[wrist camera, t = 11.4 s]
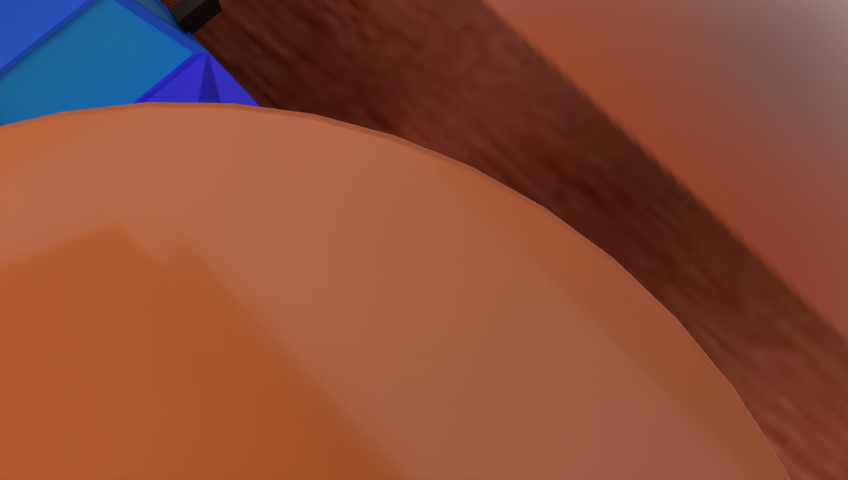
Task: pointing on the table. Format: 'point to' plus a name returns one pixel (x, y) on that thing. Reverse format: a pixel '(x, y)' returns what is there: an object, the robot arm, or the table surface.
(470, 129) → the table surface
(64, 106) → the toy car
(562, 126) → the table surface
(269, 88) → the table surface
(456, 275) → the orange cylinder
